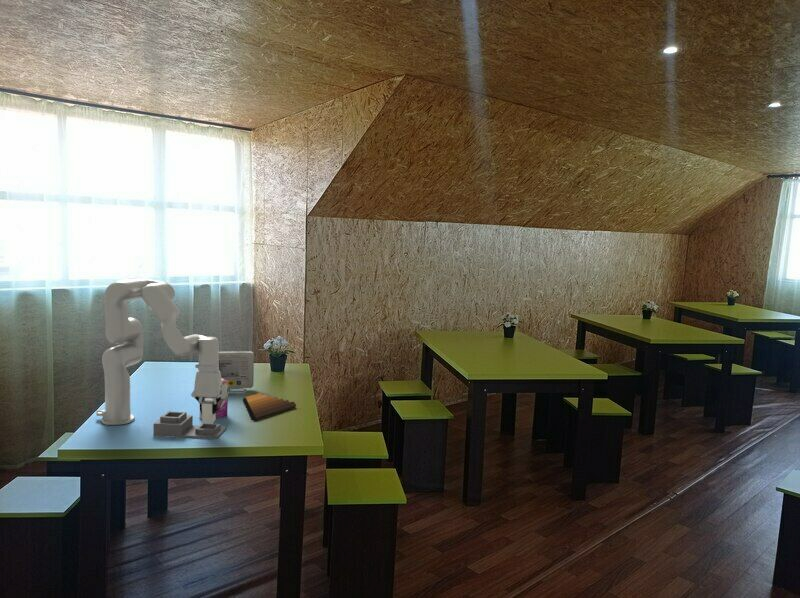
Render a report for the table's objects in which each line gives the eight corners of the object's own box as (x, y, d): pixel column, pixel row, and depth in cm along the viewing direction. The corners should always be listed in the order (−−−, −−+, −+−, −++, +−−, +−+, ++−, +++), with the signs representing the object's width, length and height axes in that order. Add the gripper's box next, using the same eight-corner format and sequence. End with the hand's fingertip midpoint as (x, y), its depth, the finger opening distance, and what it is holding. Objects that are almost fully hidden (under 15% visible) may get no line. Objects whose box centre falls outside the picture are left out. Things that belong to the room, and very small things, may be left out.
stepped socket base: (153, 435, 230) (153, 418, 230) (166, 425, 242) (166, 409, 242) (216, 439, 230) (216, 421, 229) (226, 428, 242) (226, 412, 241)
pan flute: (256, 422, 253) (296, 409, 274) (256, 414, 253) (296, 402, 274) (217, 410, 267) (258, 398, 288) (217, 403, 266) (258, 392, 287)
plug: (202, 423, 234) (201, 402, 232) (205, 419, 238) (205, 398, 236) (212, 423, 234) (211, 402, 232) (215, 419, 238) (214, 398, 236)
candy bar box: (205, 422, 249) (206, 384, 247) (199, 419, 252) (199, 382, 250) (228, 416, 258) (228, 379, 256) (221, 413, 261) (222, 377, 259)
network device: (253, 388, 303) (253, 350, 301) (253, 393, 295) (254, 354, 293) (201, 389, 297) (201, 350, 294) (199, 394, 288) (200, 354, 286)
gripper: (184, 369, 229) (184, 414, 232) (226, 371, 229) (226, 416, 231) (191, 364, 237) (191, 409, 239) (232, 366, 237) (232, 410, 239)
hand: (208, 412), depth 235 cm, fingers closed on plug, 4 cm apart
